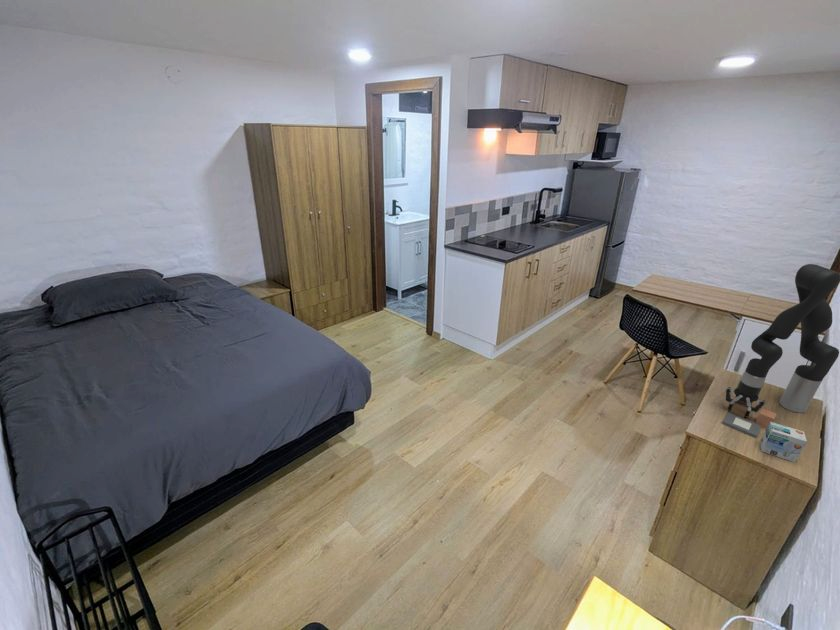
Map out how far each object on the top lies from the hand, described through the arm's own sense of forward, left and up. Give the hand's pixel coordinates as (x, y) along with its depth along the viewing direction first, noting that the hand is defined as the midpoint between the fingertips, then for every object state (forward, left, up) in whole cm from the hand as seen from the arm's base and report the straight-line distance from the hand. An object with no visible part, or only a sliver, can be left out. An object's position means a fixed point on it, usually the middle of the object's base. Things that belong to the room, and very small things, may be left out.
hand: (737, 413), depth 177 cm
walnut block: (0, 0, 0) cm, 0 cm away
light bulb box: (+16, +16, -1) cm, 23 cm away
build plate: (+8, +3, -1) cm, 9 cm away
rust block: (0, +9, -1) cm, 9 cm away
